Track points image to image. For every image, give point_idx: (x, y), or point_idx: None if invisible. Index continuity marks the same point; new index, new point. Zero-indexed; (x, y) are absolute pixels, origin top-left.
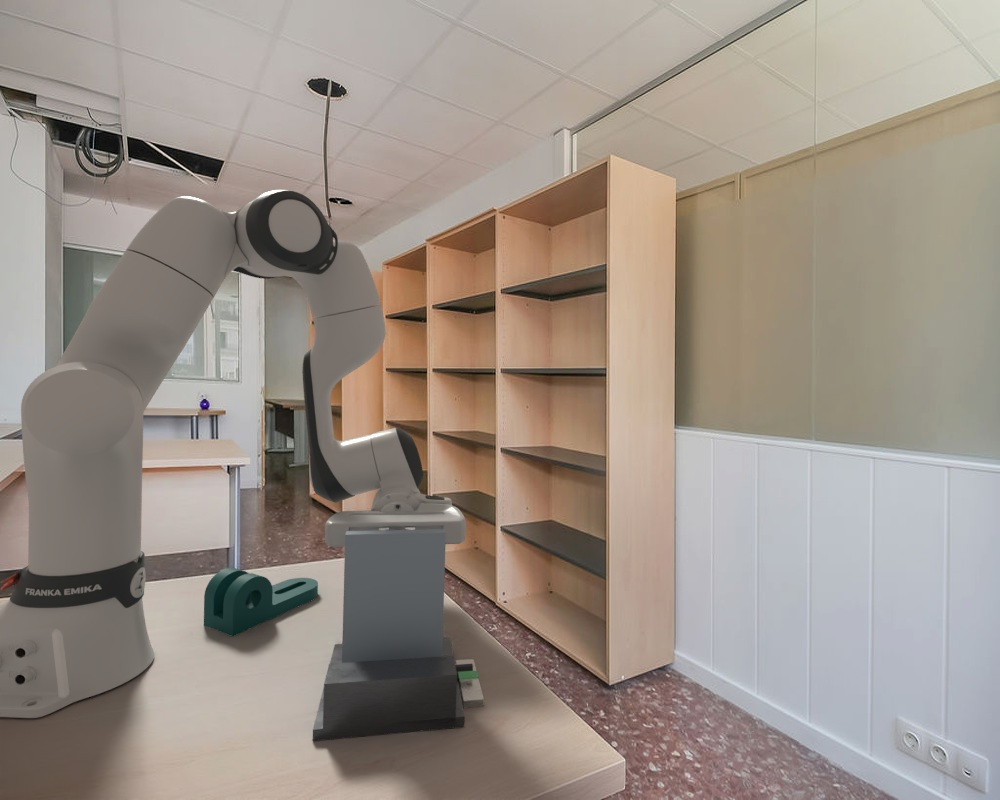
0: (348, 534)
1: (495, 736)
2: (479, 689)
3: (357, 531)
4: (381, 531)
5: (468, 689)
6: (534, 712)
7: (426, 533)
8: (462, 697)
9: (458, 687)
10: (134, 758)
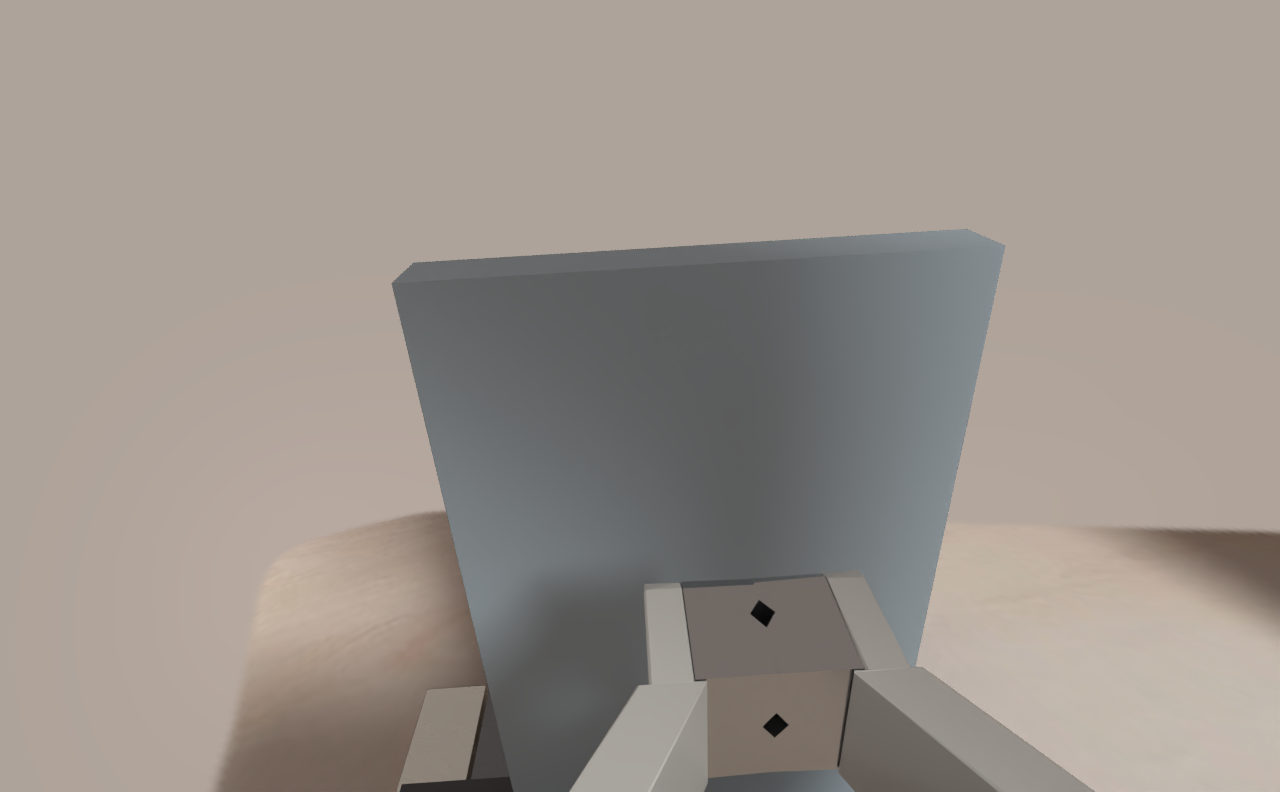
0: (951, 230)
1: (450, 606)
2: (419, 734)
3: (931, 245)
4: (787, 253)
5: (453, 735)
6: (314, 672)
7: (524, 259)
8: (481, 713)
9: (484, 725)
10: (1197, 584)
